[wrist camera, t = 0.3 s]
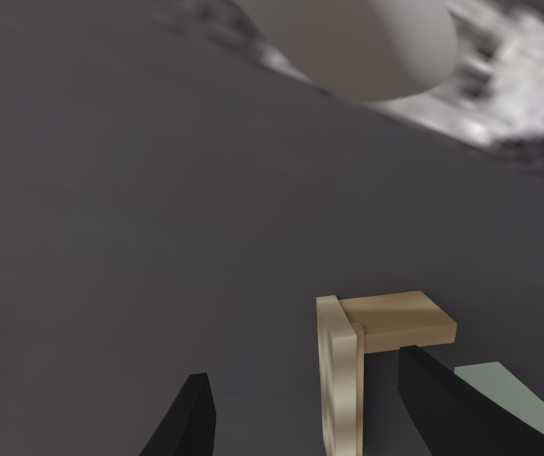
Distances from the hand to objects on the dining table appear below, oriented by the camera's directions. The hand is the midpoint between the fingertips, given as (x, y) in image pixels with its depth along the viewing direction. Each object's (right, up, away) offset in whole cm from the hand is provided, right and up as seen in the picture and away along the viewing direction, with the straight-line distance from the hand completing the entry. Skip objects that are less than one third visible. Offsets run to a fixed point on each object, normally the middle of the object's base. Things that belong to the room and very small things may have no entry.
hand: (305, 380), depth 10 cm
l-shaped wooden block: (+7, -7, +13) cm, 16 cm away
